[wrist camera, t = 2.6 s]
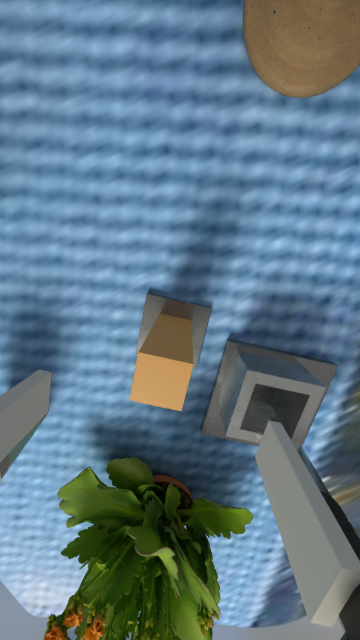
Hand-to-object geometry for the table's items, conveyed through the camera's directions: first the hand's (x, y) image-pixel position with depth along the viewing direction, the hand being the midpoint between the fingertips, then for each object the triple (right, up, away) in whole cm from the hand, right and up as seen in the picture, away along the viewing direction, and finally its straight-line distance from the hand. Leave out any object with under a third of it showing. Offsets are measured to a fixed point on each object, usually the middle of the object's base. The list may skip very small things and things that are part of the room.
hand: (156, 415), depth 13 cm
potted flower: (-1, -23, +23) cm, 32 cm away
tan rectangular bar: (0, +4, +15) cm, 15 cm away
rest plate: (0, +4, +15) cm, 16 cm away
